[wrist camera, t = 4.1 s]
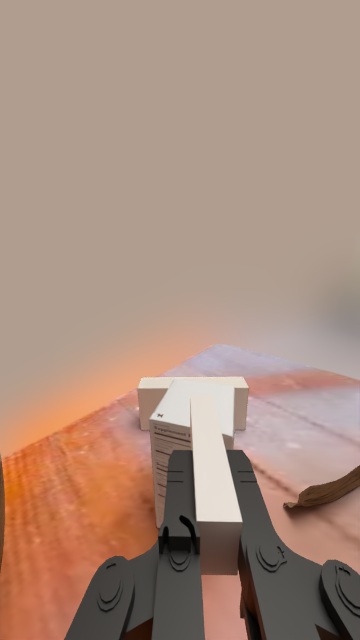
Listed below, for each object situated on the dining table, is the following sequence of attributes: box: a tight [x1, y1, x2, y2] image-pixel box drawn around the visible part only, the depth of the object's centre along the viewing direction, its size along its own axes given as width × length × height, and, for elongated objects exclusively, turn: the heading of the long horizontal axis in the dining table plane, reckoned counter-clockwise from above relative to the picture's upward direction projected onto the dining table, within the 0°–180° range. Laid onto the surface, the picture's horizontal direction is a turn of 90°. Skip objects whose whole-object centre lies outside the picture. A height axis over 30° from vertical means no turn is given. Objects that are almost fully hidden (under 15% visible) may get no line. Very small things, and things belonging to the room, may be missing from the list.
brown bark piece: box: [283, 466, 360, 508], centre depth 27 cm, size 15×2×5 cm, turn 108°
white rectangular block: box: [137, 377, 249, 430], centre depth 40 cm, size 4×22×10 cm, turn 89°
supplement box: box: [149, 378, 235, 528], centre depth 25 cm, size 10×9×17 cm
